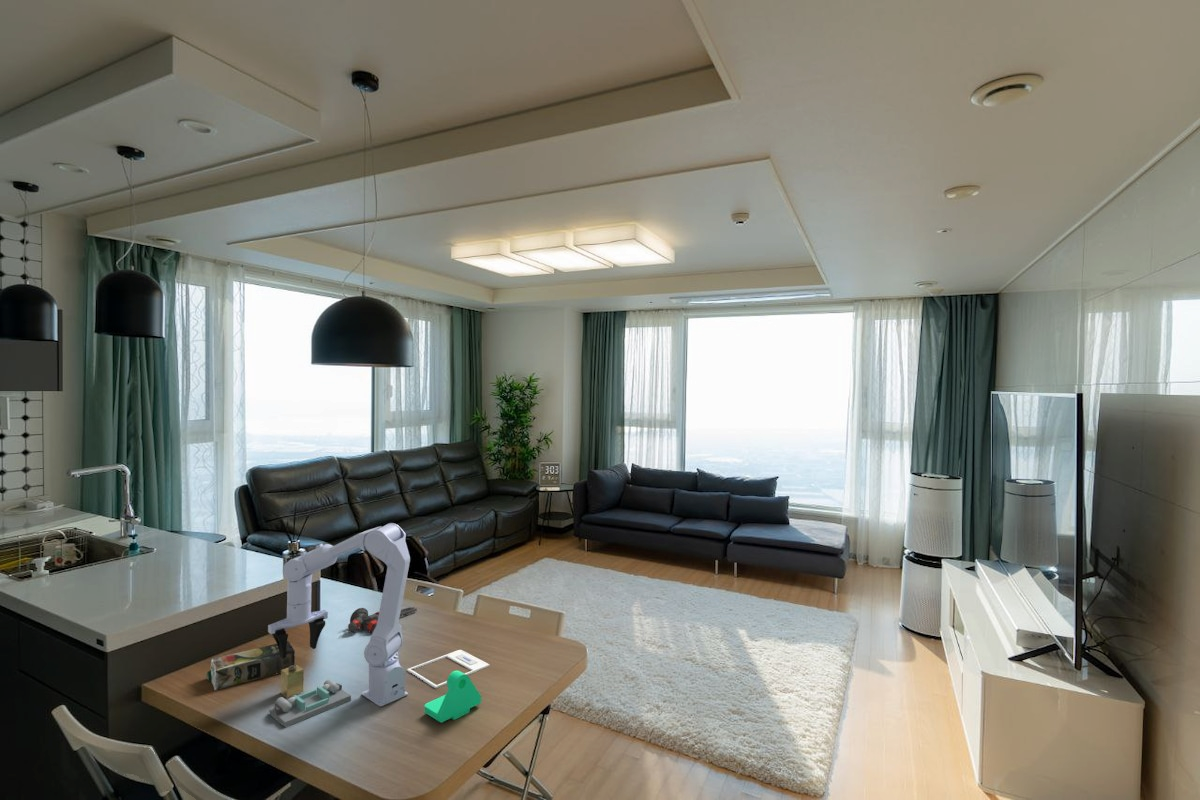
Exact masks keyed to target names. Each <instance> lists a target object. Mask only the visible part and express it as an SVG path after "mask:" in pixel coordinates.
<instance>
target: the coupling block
mask: <svg viewBox="0 0 1200 800" xmlns="http://www.w3.org/2000/svg"><path fill="white" fill-rule="evenodd" d="M304 670H305V669H304V668H302V667H301V666H299V665H298V664H294V665H291V666H289V668H286V669H283V670H281V673H280V693H281V692H282V693H283V694H284V695H285V696H286V698H287V697H288V698H290V697H289V696H291V697H293V695H295V694H296V695H299V694H302V693H304ZM301 692H302V693H301ZM298 693H299V694H298ZM283 694H282V695H283ZM284 695H283V696H284ZM285 696H284V697H285Z"/></svg>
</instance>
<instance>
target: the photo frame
mask: <svg viewBox="0 0 1200 800" xmlns="http://www.w3.org/2000/svg"><path fill="white" fill-rule="evenodd" d="M446 658H447V659H449V660H451V661H452V662H454V663H456V664H458V665H461V666H462V667H464V668H466V669H468V670H469V671H468V672H465V673H464V674H466V675H468V676H469V675H472V674H474V673H476V672H478V671H481V670H484V669H486V668H488V667H490V665H491V664H489V663H488V662H485V661H484V660H482V659H479V658H478V657H476V656H474V655H472V654H470V653H468V652H467V651H464V650H462V649H458V650H455V651H452V652H449V653H447V654H444V655H442V656H438V657H436V658H433V659H430V660H429V661H425V662H422V663H420V664H417V665H415V666H412V667H409V668H407V669H406V671H407V672H408V673H409V674H411V673H412V674H411V675H413V676H414V675H415V677H416V676H417V678H418V679H419V678H420V680H421V681H422V680H423V681H422V682H424V683H426V684H427V685H429V686H430V687H432V688H434V689H439V688H441V687H443V686H445V685H446V686H447V680H446V681H443V682H441V683H439V684H436V683H434V682H432V681H431V680H429V679H428V678H425V676H423V675H421V674H419V673H417V671H414V670H417V669H419V667H420V668H422V667H424V665H425V666H427V665H430V664H432V662H433V663H436V662H437V661H440V660H443V659H446ZM421 666H422V667H421ZM416 668H417V669H416ZM413 669H414V670H413Z"/></svg>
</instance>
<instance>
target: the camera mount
mask: <svg viewBox="0 0 1200 800" xmlns="http://www.w3.org/2000/svg"><path fill="white" fill-rule="evenodd" d="M446 681H447V684H446V686H447V691H446V694H444V695H442V696H439V697H438V698H435V699H433V700H431V701H429V702H426V703H425V704H424V713H425V714H426V715H428V716H430V717H431V718H433V719H435V720H436V721H437V722H439V723H441V724H442V723H444V722H446V721H447V720H450V719H452V720H453V721H455V720H457V719H458V718H461V717H463V716H464V715H467V714H469V713H470V712H471V711H470V709H472V708H473V707H475V706H477V705H480V704H481V703H482V696H481V694H480V692H479V691H478V689H477V688H476V686H475V684H474V683H473V681H472V680H471V678H470V677H469V675H466V674H465V673H464V672H462V671H460V670H454V671H452V672H451V673H450V674H449V675H448V677H447V679H446Z"/></svg>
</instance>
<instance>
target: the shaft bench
mask: <svg viewBox="0 0 1200 800" xmlns="http://www.w3.org/2000/svg"><path fill="white" fill-rule="evenodd" d="M342 687H343V684H341V683H338V682H334V681H332V680H331V679H326V680H325V681H324V682H323V685H322V686H321V685H319V686H316V689H313V690H312V689H311V690H309V691H307V692H305V693H304V692H303V693H300V694H296V695H294V696H291V697H288V698H287V699H286V698H284V697H282V696H281V697H278V698H276V700H275V703H274V706H273V707H270V708H269V709H268V710H269V713H270V714H271V715H272V716H271V715H270V714H269V713H268V714H269V715H270V716H271V717H273V718H274V717H275V718H276V719H277V720H278V721H279V722H280V723H279V722H278V721H277V720H276V719H275V718H274V719H275V720H276V721H277V722H278V723H279V724H281V723H282V724H283V725H284V726H285V727H284V726H283V725H282V724H281V725H282V726H283V727H284V728H287V727H289V726H288V725H290V726H292V725H294V724H296V723H299V722H301V721H304V720H306V718H307V719H309V718H311V717H313V715H314V716H316V715H319V714H321V713H324V712H325V711H328V710H330V709H333V708H335V707H338V706H340V705H342V704H346V703H348V702H351V700H352V696H351V694H349V693H348V692H346V691H345V690H344V689H343V688H342ZM291 724H292V725H291ZM286 726H287V727H286Z"/></svg>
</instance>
